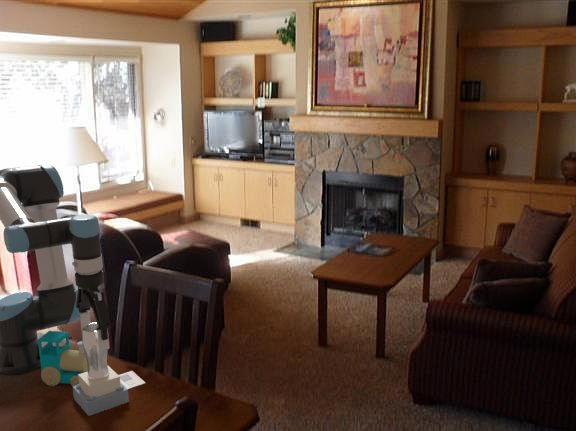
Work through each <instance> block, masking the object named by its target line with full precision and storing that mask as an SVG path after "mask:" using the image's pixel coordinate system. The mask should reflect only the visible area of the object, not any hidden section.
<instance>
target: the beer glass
mask: <svg viewBox="0 0 576 431" xmlns="http://www.w3.org/2000/svg"><path fill="white" fill-rule="evenodd" d="M97 328H98V325H97V322H91V323H90V324H87V325H85V326H83V327H82V331H81V336H82V337H81V341H82V343H83V349H84V353H85V356H86V359H87V363H88V374H87V376H88V378H89V379H91V380H100V379H103V378H105V377H107V376H108V375H109V370H108V366H109V365H108V363H107V362H108V361H107V360H108V351H109V349H106V350H103V351H99V343H98V332H97V330H96V329H97ZM107 365H108V366H107Z"/></svg>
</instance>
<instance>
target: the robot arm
mask: <svg viewBox="0 0 576 431" xmlns="http://www.w3.org/2000/svg"><path fill="white" fill-rule="evenodd" d="M64 192H65V191H64V185H63V181H62V177H61V175H60V174H59V171H58V169H56V168H55V167H54V166H53V165H51V164H37V165H30V166H29V165H27V166H21V167H20V166H19V167H11V168H10V167H8V168H3V169H0V222H1V223H2V225H3V227H4V229H3V242H4V245H5V248H6V250H7V252H8V253H11V254H15V253H17V254H18V253H26V252H30V251H35V257H36V264H37V269H38V274H39V280H40V281H39V282H40V284H39V285H38V286H37V288H36V292H37V294H36V295H33V294H32V293H31V292H28V291H24V292H19V291H18V292H15V293H11V294H9V295H6V296H4V297H2V298H1V299H0V374H3V375H8V376H9V375H10V376H12V375H13V376H14V375H15V376H16V375H21V374H26V373H30V372H33V371H35V370H37V369H39V368H41V362H40V354H39V345H38V339H39V338H38V332H39V331H44V330H46V329H51V328H54V327H59V326H63V325H68V324H72V323H74V322H77V321H78V320H79V319H80V329H81V330H80V331H81V332H82V327H83V326H85V325H87V324H90V323H92V321H91V312H90V310H92V313H93V315H94V318H95V321H96V322H95V323H97V325H98V328H97V329H96V330H97V332H98V343H99V351H103V350H106V349H108V350H109V349H110V339H109V329H110V328H112V323H111V320H110V316H109V311H108V309H107V304H106V301H105V293H104V292H101V291H100V288H99V287H100V286H102V285H103V284H104V281H105V280H104V270H103V267H104V266H103V255H102V250H101V249H102V247H101V234H100V233H101V232H100V231H101V227H100V224H99V219H98V217H97V216H96V215H94V214H93V215H92V214H79V215H75V214H72V213H70V214H69V213H67V214H64V215H62V216H60V217H59V218H58V214H57V207H58V206H59V205H60V203H61V202H60V199H62V198H63V197H64ZM69 244H70V245H71V249H72V260H73V262H71V265H72V266H73V268H74V270H73V271H74V272H75V273H74V281H75V285H74V282H73V281H72V280H71V279H69V277H68V272H67V267H66V261H65V255H64V249H63V246H65V245H69Z"/></svg>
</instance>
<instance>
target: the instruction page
mask: <svg viewBox="0 0 576 431" xmlns="http://www.w3.org/2000/svg"><path fill="white" fill-rule="evenodd" d="M118 375H119V376H120V382H121V383H122V384H123V385H124V386H125V387H126V388H127V389H128V390H130V389H134V388H137V387H139V386H142V385H145V384H146V382H145V381H144V380H143V379H142V378H141V377H140V376H138V374H136V372H134V371H133V370H130V371H127V372H124V373H121V374H118Z"/></svg>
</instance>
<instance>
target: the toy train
mask: <svg viewBox="0 0 576 431" xmlns="http://www.w3.org/2000/svg"><path fill="white" fill-rule="evenodd" d="M69 338H70V337H69V331H58V330H48V331H47V332H46V333H44V334H43V335H42V336H41V337H40V336H39V338H38V345H39V354H40V362H41V367H40V370H41V371H40V372H41V373H40V377H41V380H42V382H44V383H45V384H46V385H47V386H51V387H55V386H57V385H58V384H70V385H71V387H73V386H76V385H77V384H79V378H78V374H81V373H84V372H88V363H87V359H86V356H85V353H84V349H83V343H82V340H81V341H78V342H77V343H76V346H77V349H78V350H76V349H71V347H70V339H69ZM64 340H65V344H63V345H62V346H60V343H62V342H63V341H64ZM43 343H46V344H45V345H44V346H42V344H43ZM53 343H54V344H55V345H53Z"/></svg>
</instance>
